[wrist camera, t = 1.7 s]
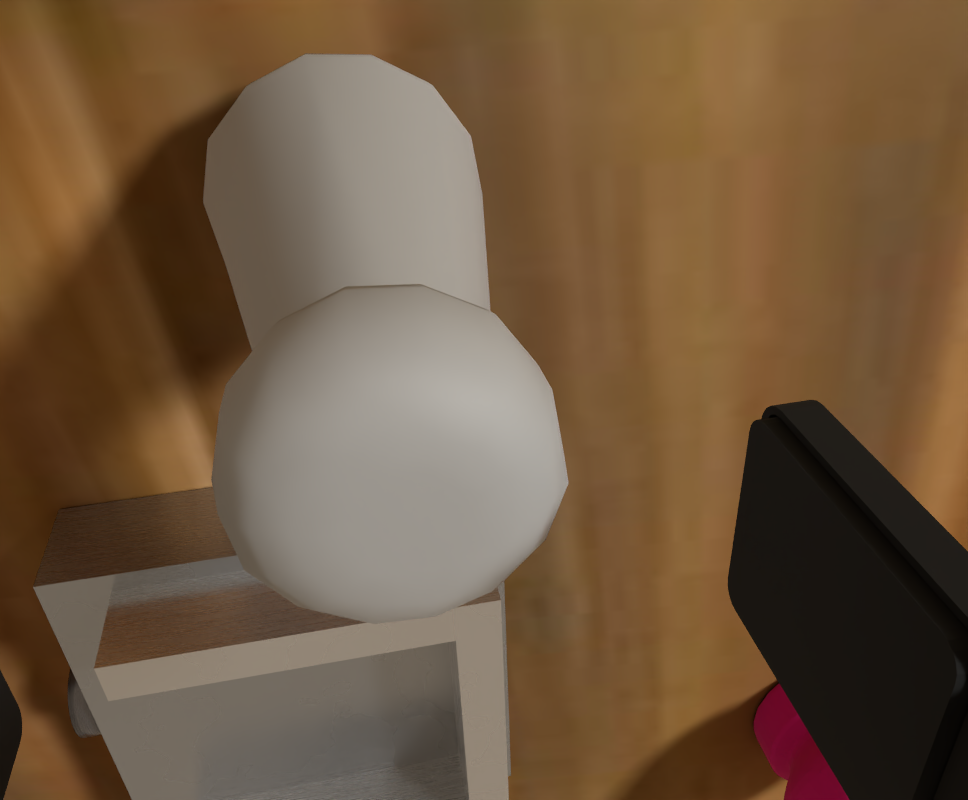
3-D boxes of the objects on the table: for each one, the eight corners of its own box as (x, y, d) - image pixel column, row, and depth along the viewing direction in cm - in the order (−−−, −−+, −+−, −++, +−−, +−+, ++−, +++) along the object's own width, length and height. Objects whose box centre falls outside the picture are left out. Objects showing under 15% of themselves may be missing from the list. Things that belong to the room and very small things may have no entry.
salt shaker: (226, 278, 21) (168, 726, 11) (193, 29, 18) (65, 317, 8) (460, 267, 22) (618, 668, 12) (466, 31, 19) (688, 286, 9)
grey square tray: (28, 513, 24) (-32, 672, 20) (481, 448, 26) (522, 580, 21) (140, 768, 31) (115, 930, 26) (493, 703, 33) (527, 844, 28)
